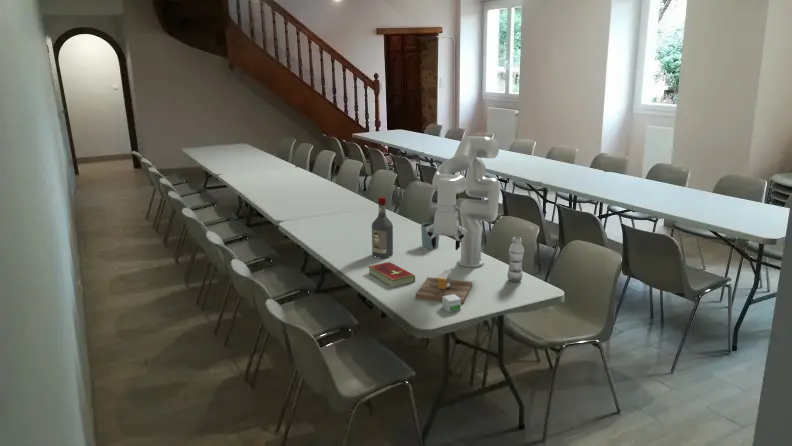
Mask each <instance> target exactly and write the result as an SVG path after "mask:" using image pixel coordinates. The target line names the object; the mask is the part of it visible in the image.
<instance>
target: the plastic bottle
mask: <svg viewBox="0 0 792 446" xmlns="http://www.w3.org/2000/svg"><path fill="white" fill-rule="evenodd" d="M511 241H512V244H510V246H509V248H508V253H509V265H508V271H507V279H508V281H510V282H514V283H515V282H521V281H522V279H523V258H524V253H525V248H524V245H523V244H522V237H519V236H514V237H512V240H511Z"/></svg>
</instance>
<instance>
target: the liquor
mask: <svg viewBox="0 0 792 446" xmlns="http://www.w3.org/2000/svg"><path fill="white" fill-rule="evenodd" d="M386 199H387V198H386V196H379V197H377V200H378V214H377V216H376V218H375V219H374V221H373V222H372V224H371V254H372V257H374V256H376V257H375V258H377V257H380V258H379V259H381V258H384V259H387V257H388V258H390V257H393V255H394V243H393V242H394V226H393V222H392V221H391V220H390V219H389V217H387V213H386V211H387V210H386V204H387V203H386V202H387V201H386ZM389 256H390V257H389Z"/></svg>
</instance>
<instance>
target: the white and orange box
mask: <svg viewBox="0 0 792 446" xmlns="http://www.w3.org/2000/svg"><path fill="white" fill-rule="evenodd" d="M437 278H438V288H440V289H449V288H450V283H449V282H450V280H452V270H445V269H444V270H443V271H442V273H441V274H440V276H439V277H437Z"/></svg>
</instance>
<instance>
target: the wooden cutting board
mask: <svg viewBox="0 0 792 446" xmlns="http://www.w3.org/2000/svg"><path fill="white" fill-rule="evenodd" d="M438 278H439V277H429V276H427V277H426V279H425V280H424V282H423V283H422V285H420V287H419V289H418V290H417V292H416V293H415V299H418V300H419V299H420V300H427V301H428V300H429V301H436V302H442V296H447V295H452V294H455V295H456V296H458V297H459V298H460V299H461V305H464V304H465V302H466V299H467V297H468V296H469V293H470V292H471V289H472V287H473V281H465V280H457V279H456V280H455V279H451V280H450V282H449V283H450V288H449V289H440V288H438Z"/></svg>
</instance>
